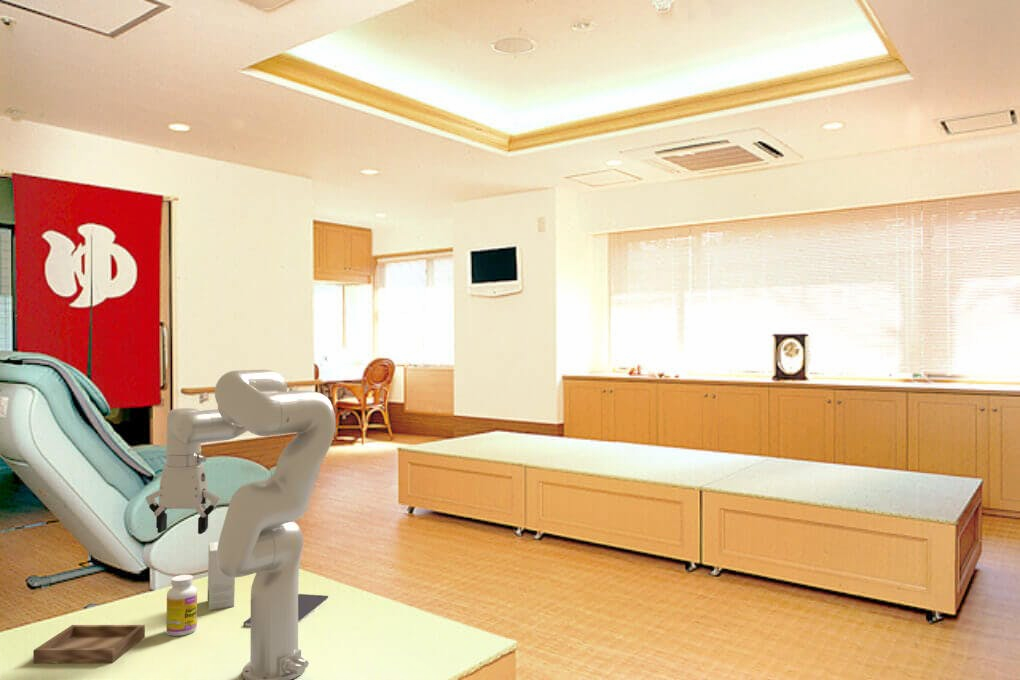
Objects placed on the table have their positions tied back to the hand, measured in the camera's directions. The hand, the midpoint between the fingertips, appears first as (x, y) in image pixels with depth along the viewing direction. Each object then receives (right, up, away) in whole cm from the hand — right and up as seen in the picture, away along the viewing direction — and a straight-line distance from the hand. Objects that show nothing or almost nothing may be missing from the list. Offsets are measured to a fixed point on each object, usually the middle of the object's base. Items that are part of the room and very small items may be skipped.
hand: (182, 531), depth 174 cm
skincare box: (+2, -24, +19) cm, 31 cm away
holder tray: (-16, -24, -10) cm, 30 cm away
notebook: (+22, -25, +13) cm, 35 cm away
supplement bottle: (0, -24, 0) cm, 24 cm away
